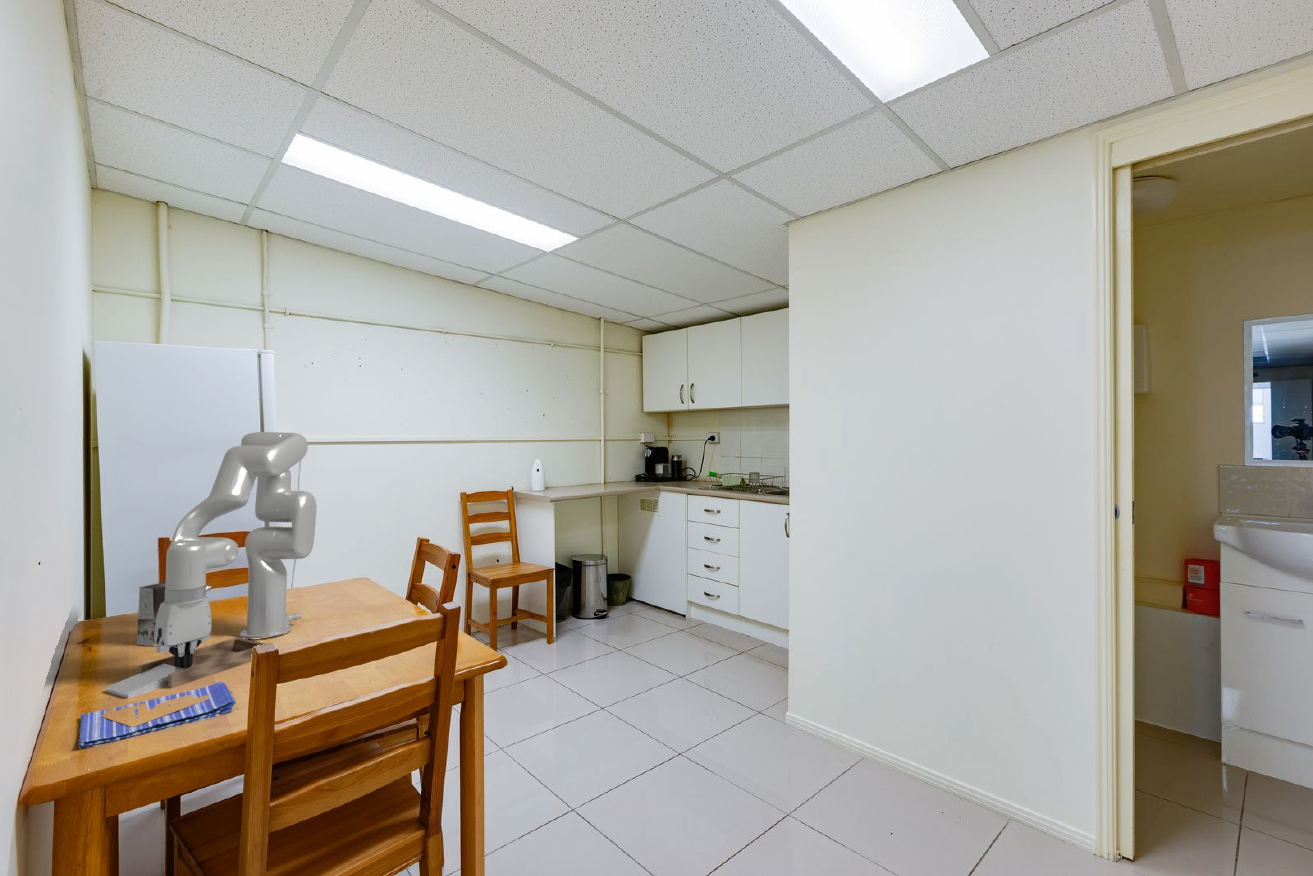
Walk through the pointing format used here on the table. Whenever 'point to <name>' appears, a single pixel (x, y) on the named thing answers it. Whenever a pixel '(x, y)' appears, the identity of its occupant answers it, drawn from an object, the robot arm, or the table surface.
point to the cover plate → (143, 681)
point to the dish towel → (106, 730)
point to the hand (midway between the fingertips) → (183, 670)
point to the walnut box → (208, 661)
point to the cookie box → (149, 612)
